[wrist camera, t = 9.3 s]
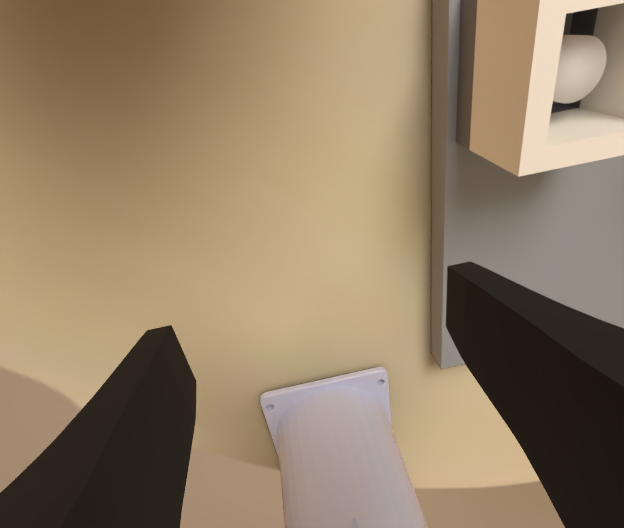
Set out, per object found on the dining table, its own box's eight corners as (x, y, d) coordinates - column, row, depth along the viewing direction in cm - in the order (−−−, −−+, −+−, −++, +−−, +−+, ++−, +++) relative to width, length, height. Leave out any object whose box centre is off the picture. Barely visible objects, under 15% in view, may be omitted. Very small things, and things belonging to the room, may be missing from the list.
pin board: (671, 298, 26) (745, 345, 22) (431, 352, 25) (464, 410, 21) (835, -118, 15) (1033, -165, 11) (432, -45, 15) (499, -72, 11)
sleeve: (573, 119, 17) (668, 145, 13) (455, 142, 17) (518, 176, 13) (600, -31, 14) (731, -53, 10) (460, -5, 14) (541, -18, 10)
